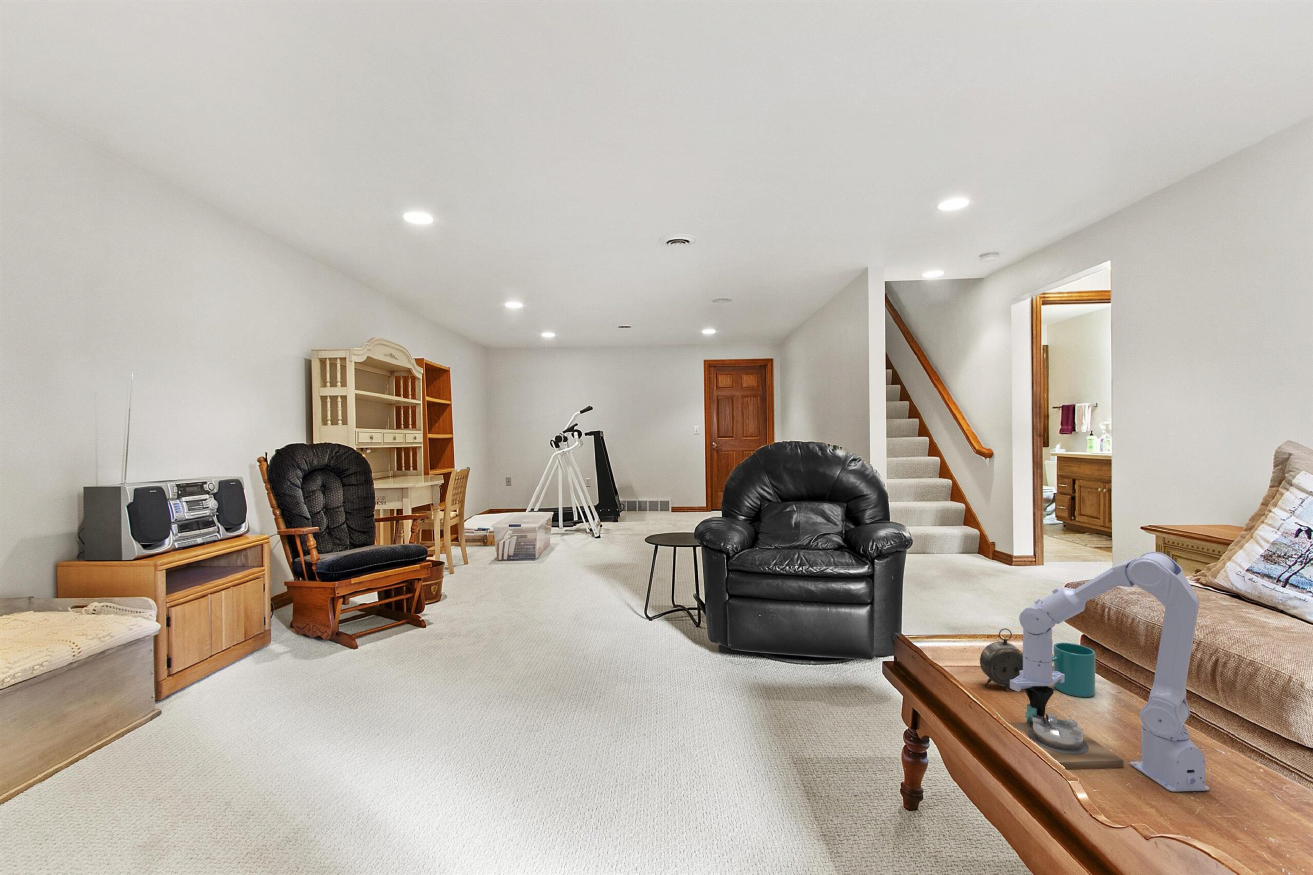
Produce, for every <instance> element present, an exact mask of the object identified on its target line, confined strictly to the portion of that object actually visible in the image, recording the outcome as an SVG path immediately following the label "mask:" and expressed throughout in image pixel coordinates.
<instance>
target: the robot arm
mask: <svg viewBox="0 0 1313 875" xmlns="http://www.w3.org/2000/svg"><path fill="white" fill-rule="evenodd" d="M1181 566H1182V565H1180V564H1178V562H1176V561H1175V560H1174V559H1172V558H1171V557H1170V556H1169V555H1167V554H1165V553H1164V552H1163V553H1162V552H1160V551H1150V552H1146V553H1144V554H1142V555H1141V556H1140V557H1135V558H1131V559H1128V560H1126V561H1123V562H1121V563H1118V564H1116V565H1114V566H1112V567H1110V568H1109V569H1107V570H1105V571H1103V572H1102V573H1100V574H1099V575H1097V576H1095V577H1093V578H1092V579H1090V580H1088V581H1087V582H1085V583H1083V584H1082V585H1080V586H1078V587H1077V588H1071V587H1067V586H1066V587H1065V586H1064V587H1062V588H1060V587H1057V588H1054V589H1053V590H1051V592H1052V593H1051V594H1050V595H1048V596H1046V597H1045V598H1043V599H1040V598H1038V599H1036V600H1034V604H1032V605H1030V606H1028V607H1026V608H1024V609H1023V610H1022V612H1020V614H1019V616H1018V617H1019V618H1018V619H1019V624H1020V626H1021V627H1022V633H1023V634H1022V635H1023V636H1022V653H1023V670H1021V671H1019V674H1021V675H1019V676H1018V677H1016V678H1014V679H1012V680H1010V686H1009V689H1011V690H1014V691H1016V692H1021V690H1024V691H1025V694H1026V696H1027V698H1028V700H1029V704H1032V705H1035V706H1037V715H1039V716H1041V717H1043V718H1044V717H1046V706H1047V704H1048V702H1049V700H1050V698H1051V697H1052V696H1053V694H1055V693H1054V692H1055V691H1054V690H1055V689H1054V688H1052V687H1051V686H1054V683H1055V682H1060V683H1064V676H1065V675H1064V674H1062V673H1060V672H1057V671H1054V670H1053V662H1052V657H1053V629H1052V628H1054V627H1055V625H1059V624H1061V623H1064V622H1065V621H1066V620H1069V619H1071V618H1073V617H1074V616H1076V615H1078V614H1080V613H1082V612H1084V611H1085V609H1086V603H1087V602H1088V601H1090V600H1092V599H1094V598H1096V597H1098V596H1100V595H1102V594H1104V593H1106V592H1108V591H1110V590H1112V589H1115V588H1116V587H1126V588H1132V587H1134V586H1137V587H1138V588H1140V589H1142V590H1144V591H1145V592H1147V593H1149V594H1151V595H1152V596H1153V597H1154V598H1155V599H1157V601H1159V602H1160V604H1162V605H1163V606H1164V608H1165V609H1164V616H1163V623H1162V628H1161V634H1160V640H1159V641H1160V642H1159V647H1158V652H1157V658H1156V664H1155V665H1156V666H1155V672H1154V679H1153V684H1152V686H1151V690H1150V693H1149V696H1148V701H1147V702H1146V704H1145V705H1144V706H1142V707H1141V709H1140V712H1139V717H1140V721H1141V760H1140V761H1130V762H1129V765H1130V766H1132V767H1133V768H1135V769H1136V770H1138V771H1140V772H1141V773H1142V774H1144V775H1145V776H1147V777H1148V778H1149V779H1151V780H1153V781H1154V782H1156V783H1157V784H1159V785H1160V786H1162V787H1163V788H1164V789H1166V790H1168V791H1169V792H1198V791H1200V792H1201V791H1203V792H1204V791H1210V787H1209V786H1208V785H1206V756H1205V755H1204V752H1203V751H1202V750H1201V749H1200V748H1198V747H1197V746H1196V745H1195V744H1194V742H1192V740H1191V738H1190V732H1188V729H1187V728H1186V726H1185V725H1184V724H1185V722H1186V721H1188V719H1189V718H1190V714H1191V710H1190V708H1189V705H1188V703H1187V697H1186V696H1187V689H1186V688H1187V687H1186V686H1187V681H1188V680H1187V679H1188V675H1189V674H1188V673H1189V668H1190V663H1191V662H1190V661H1191V658H1192V657H1191V656H1192V649H1193V644H1194V637H1195V632H1196V625H1197V620H1198V613H1199V607H1200V601H1199V598H1198V596H1197V594H1196V592H1195V591H1194V589H1193V587H1192V585H1191V584H1190V582H1189V580H1188V579H1187V577H1186V575H1185V573H1184V570H1183V567H1181Z"/></svg>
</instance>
